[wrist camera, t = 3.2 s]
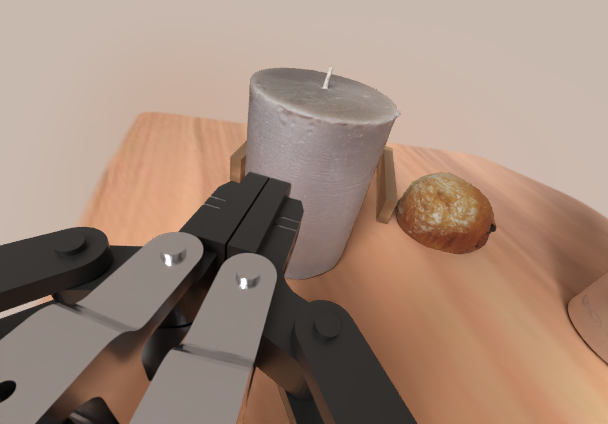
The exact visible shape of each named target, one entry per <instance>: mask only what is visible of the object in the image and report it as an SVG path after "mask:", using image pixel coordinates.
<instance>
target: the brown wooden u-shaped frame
mask: <svg viewBox="0 0 608 424" xmlns="http://www.w3.org/2000/svg"><path fill="white" fill-rule="evenodd" d="M246 147H247V141H246V142H245V143H244V144H243V145H242V146H241V147H240V148H239V149H238V150H237V151H236V152H235V153H234V154H233V155H232V156H231V158H230V180H231V181H235V182H239V183H240V182H241V181H242V180H243V178H244V177H245V164H246ZM376 168H377V221H379V222H382V223H386V224H387V223H388V221H389V219H390V217H391V215H392V213H393V211H394V209H395V207H396V205H397V192H396V182H395V172H394V162H393V152H392V148H390V147H386V146H385V147H384V149H383V151H382V153H381V156H380V159H379V162H378V164H377V167H376Z"/></svg>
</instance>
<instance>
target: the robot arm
mask: <svg viewBox="0 0 608 424" xmlns="http://www.w3.org/2000/svg"><path fill="white" fill-rule="evenodd" d="M290 191H291V183H289V182H286V181H282V180H279V179H275V178H270V177H268V176H264V175H261V174H257V173H254V172H248V174H247V175H246V176H245V177H244V179H243V180H242V181H241V182H240V183H237V182H234V181H230V182H228V183H226V184H224V185H222V186H220V187H218V188H217V190H216V191H215V192H214V193H213V194H212V195H211V197H209V198H208V200H207V201H206V202H205V204H204V205H202V206H201V207H200V208H199V209H198V211H197V212H196V213H195V214H194V215H193V216H192V217H191V218H190V219H189V220H188V222H187V223H186V224H185V225H184V226H183V227H182V228H181V229H180V230H179V232H170V233H165V234H162V235H159V236H157V237H155V238H153V239H152V240H151V241H149V242H148V243H147V244H146V245H145V246H111V245H109V242H108V239H107V236H106V235H105V234H104V233H103V232H102V231H100V230H98V229H95V228H90V227H75V228H69V229H65V230H61V231H57V232H53V233H49V234H45V235H41V236H37V237H33V238H29V239H24V240H20V241H16V242H12V243H9V244H4V245H1V246H0V312H2V311H5V310H8V309H11V308H14V307H17V306H20V305H22V304H25V303H28V302H31V301H34V300H37V299H40V298H43V297H45V296H48V295H51V296H52V297H53V299H54V300H51V301H49V302H46V303H43V304H40V305H37V306H35V307H32V308H29V309H26V310H24V311H21V312H18V313H16V314H13V315H10V316H7V317H4V318H1V319H0V424H242V422H243V418H244V414H245V410H246V406H247V402H248V398H249V394H250V390H251V387H252V383H253V379H254V375H255V371H256V367H258V368H259V369H260V370H262V371H263V372H264V373H265V374H266V375H268V376H269V377H270V378H271V379H273V380H274V381H275V382H276V383H277V384H278V388H279V392H280V394H281V397H282V400H283V403H284V406H285V409H286V411H287V414H288V417H289V420H290V423H291V424H417V422H416V421H415V419H414V417H413V416H412V414H411V413H410V411H409V409H408V408H407V406H406V405H405V403H404V401H403V400H402V398H401V396H400V395H399V393H398V392H397V390H396V388H395V387H394V385H393V384H392V382H391V380H390V379H389V377H388V375H387V374H386V372H385V371H384V369H383V367H382V366H381V364H380V363H379V361H378V359H377V358H376V356H375V355H374V353H373V351H372V350H371V348H370V346H369V345H368V343H367V342H366V340H365V338H364V337H363V335H362V334H361V332H360V330H359V329H358V327H357V325H356V324H355V322H354V321H353V319H352V318H351V316H350V315H349V313H348V312H347V311H346V310H345V309H343V308H342V307H341V306H339V305H337V304H335V303H333V302H330V301H326V300H316V301H312V302H307V301H306V300H304V299H303V298H301V297H300V296H298V295H297V294H296V293H294V292H293V291H292V290H291V289H290V287H289V286H288V285H287V283H286V281H285V278H284V276H285V273H286V271H287V268H288V265H289V262H290V259H291V256H292V253H293V250H294V248H295V245H296V242H297V238H298V234H299V229H300V225H301V221H302V217H303V213H304V209H303V205H302V201H300V200H297V199H293V198H290V197H289V196H290ZM568 312H569V316H570V319H571V321H572V323H573V324H574V326H575V328H576V329H577V331H578V332H579V334H580V335H581V337H582V338H583V339H584V340H585V341H586V343H587V344H588V345H589V346H590V347H591V348H592V349H593V350H594V351H595V352H596V353H597V354H598V355H599V356H600V357H601V358H602V359H603V360H604V361H605V362H606V363H607V364H608V272H607V273H606V274H605V275H603V276H602V277H601V278H599V279H598V280H596V281H595V282H594V283H592V284H591V285H590V286H588V287H587V288H586V289H584V290H583V291H582V292H580V293H579V294H578V295H576V296H575V297H574V298H572V299H571V300H570V302H569V303H568Z"/></svg>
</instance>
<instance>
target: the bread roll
mask: <svg viewBox="0 0 608 424" xmlns="http://www.w3.org/2000/svg"><path fill="white" fill-rule="evenodd" d="M396 206H397V207H396V215H397V221H398V223H399V225H400V226H401V228H402V229H403V231H404V232H405V233H406V234H408V235H409V236H410V237H412V238H413V239H415V240H416V241H418V242H419V243H421V244H423V245H425V246H426V247H429V248H433V249H436V250H441V251H444V252H450V253H454V254H463V253H468V252H472V251H474V250H477V249H479V248H481V247H482V246H484V245H485V243H486V242H487V240H488V237H489V234H490V233H491V232H494V231H496V224H495V220H494V214H493V211H492V207H491V206H490V203H489V201H488V199H487V198H486V197H485V196H484V195H483V194H482V193H481V192H480V190H479V189H477V188H476V187H474V186H472V185H471V184H470V183H468V182H466V181H464V180H463V179H461V178H460V177H457V176H456V175H454V174H450V173H435V174H431V175H426V176H424V177H421V178H420V179H418V180H416V181H413V182H412V184H411V185H410V186H409V188H408V189H407V190H406V192H405V193H404V195H403V197H402V198H401V199H400V200H398V201H397V205H396Z"/></svg>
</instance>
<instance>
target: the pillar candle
mask: <svg viewBox="0 0 608 424" xmlns="http://www.w3.org/2000/svg"><path fill="white" fill-rule="evenodd" d="M332 69H333V68H332V67H330V68H329V70H328V73H324V72H318V71H314V70H304V69H295V68H273V69H265V70H261V71H259V72H256V73H255V74H253V75H252V77H251V81H250V96H249V112H248V128H247V147H246V164H245V176H246V175H247V174H248V172H254V173H257V174H261V175H264V176H268V177H270V178H275V179H279V180H282V181H286V182H289V183H291V191H290V196H289V197H290V198H293V199H297V200H300V201H302V205H303V209H304V213H303V217H302V221H301V225H300V229H299V234H298V238H297V242H296V245H295V248H294V250H293V253H292V256H291V259H290V262H289V265H288V268H287V271H286V273H285V276H284V278H286V279H287V278H289V279H295V280H302V279H307V278H310V277H314V276H317V275H320V274H322V273H325V272H327V271H329V270H330V269H332V268H333V267H334V266H335V265H336V264H337V263H338V261H339V260H340V258H341V256H342V254H343V251H344V248H345V246H346V244H347V241H348V238H349V236H350V234H351V232H352V229H353V226H354V223H355V221H356V219H357V216H358V213H359V211H360V209H361V207H362V204H363V201H364V199H365V197H366V193H367V190H368V188H369V185H370V182H371V179H372V177H373V174H374V172H375V169H376V167H377V164H378V162H379V159H380V156H381V153H382V151H383V149H384V147H385V145H386V142H387V139H388V136H389V134H390V131H391V128H392V126H393V124H394V121H395V119H396V118H397V117H398V116H399V115H400V111H399V110H398V109H397V107H396V105H395V104H394V102H393V101H392V100H391V99H389V98H388V97H387V96H386V95H384V94H382V93H381V92H379V91H378V90H376V89H374V88H372V87H370V86H367V85H365V84H362V83H360V82H357V81H354V80H351V79H348V78H344V77H341V76H336V75H333V74H331V73H332Z"/></svg>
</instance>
